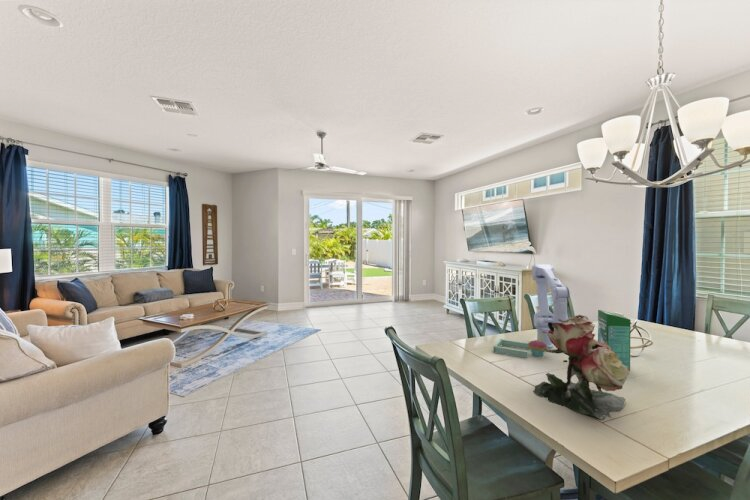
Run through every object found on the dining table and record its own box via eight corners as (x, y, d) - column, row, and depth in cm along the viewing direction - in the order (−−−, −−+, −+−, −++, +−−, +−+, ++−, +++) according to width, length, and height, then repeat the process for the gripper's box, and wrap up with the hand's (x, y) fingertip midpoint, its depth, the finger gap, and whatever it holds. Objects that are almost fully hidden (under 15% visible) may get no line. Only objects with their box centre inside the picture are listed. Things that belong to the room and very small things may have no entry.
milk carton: (630, 371, 144) (630, 314, 143) (607, 369, 145) (607, 313, 145) (619, 363, 153) (619, 309, 152) (597, 362, 154) (597, 309, 154)
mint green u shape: (500, 344, 182) (500, 339, 182) (532, 349, 174) (532, 343, 174) (493, 352, 170) (493, 346, 170) (527, 358, 161) (527, 352, 161)
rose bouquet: (618, 428, 101) (619, 331, 100) (527, 393, 125) (526, 315, 124) (645, 403, 116) (646, 318, 115) (559, 376, 140) (559, 306, 139)
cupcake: (542, 352, 169) (542, 329, 169) (549, 358, 161) (550, 333, 160) (525, 351, 170) (525, 328, 170) (531, 357, 162) (531, 333, 161)
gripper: (542, 311, 160) (542, 339, 160) (577, 314, 152) (577, 344, 152) (544, 308, 166) (544, 335, 166) (578, 311, 158) (578, 340, 158)
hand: (560, 339), depth 160 cm, fingers open, 5 cm apart
